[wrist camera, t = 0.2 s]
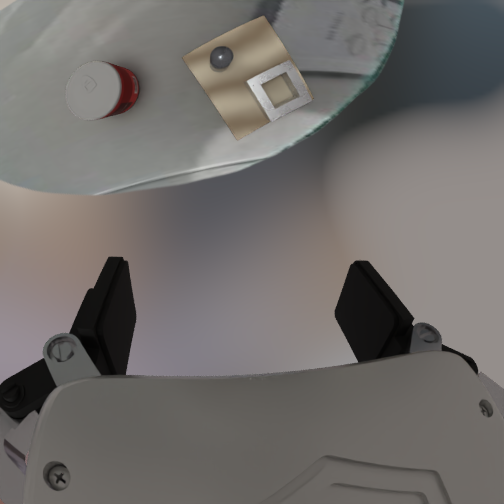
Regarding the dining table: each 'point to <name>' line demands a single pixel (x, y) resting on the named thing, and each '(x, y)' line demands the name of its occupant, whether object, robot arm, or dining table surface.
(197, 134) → the dining table surface
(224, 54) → the pin
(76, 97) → the canned food
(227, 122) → the board
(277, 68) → the collar
